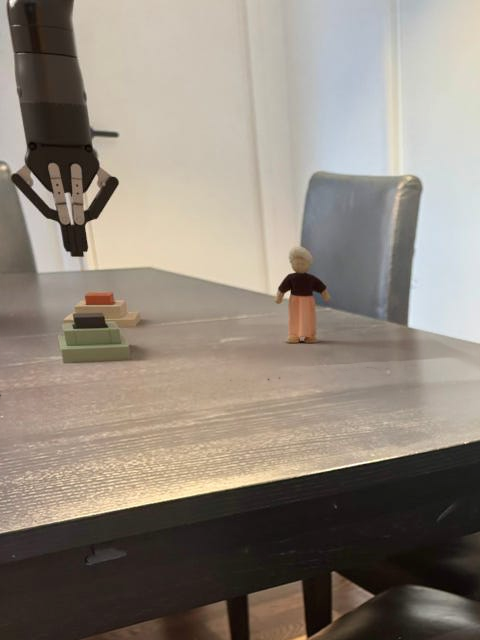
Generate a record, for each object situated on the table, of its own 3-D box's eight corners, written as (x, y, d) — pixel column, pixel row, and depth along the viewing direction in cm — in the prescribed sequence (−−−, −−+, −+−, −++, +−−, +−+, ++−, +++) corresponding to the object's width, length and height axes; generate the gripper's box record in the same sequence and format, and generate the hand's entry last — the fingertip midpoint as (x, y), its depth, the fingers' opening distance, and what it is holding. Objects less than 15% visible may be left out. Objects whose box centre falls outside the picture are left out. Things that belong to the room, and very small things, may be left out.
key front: (74, 327, 118) (72, 313, 117) (104, 326, 119) (102, 312, 119) (76, 332, 115) (74, 317, 114) (106, 330, 116) (104, 316, 116)
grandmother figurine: (282, 344, 128) (275, 247, 122) (276, 340, 131) (269, 244, 125) (335, 342, 131) (331, 246, 125) (328, 338, 134) (323, 244, 128)
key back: (86, 307, 137) (84, 295, 136) (90, 304, 140) (88, 292, 140) (111, 307, 138) (109, 295, 137) (114, 304, 141) (113, 292, 140)
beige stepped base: (64, 328, 136) (60, 306, 135) (73, 320, 143) (70, 299, 141) (134, 327, 138) (131, 306, 136) (140, 319, 145) (137, 299, 143)
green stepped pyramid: (59, 348, 122) (55, 320, 120) (123, 345, 125) (119, 318, 123) (63, 363, 113) (58, 333, 111) (131, 359, 116) (127, 331, 114)
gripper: (107, 105, 115) (126, 253, 123) (-9, 98, 110) (19, 253, 118) (115, 103, 109) (135, 259, 117) (-8, 95, 104) (22, 259, 112)
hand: (77, 256), depth 117 cm, fingers closed
